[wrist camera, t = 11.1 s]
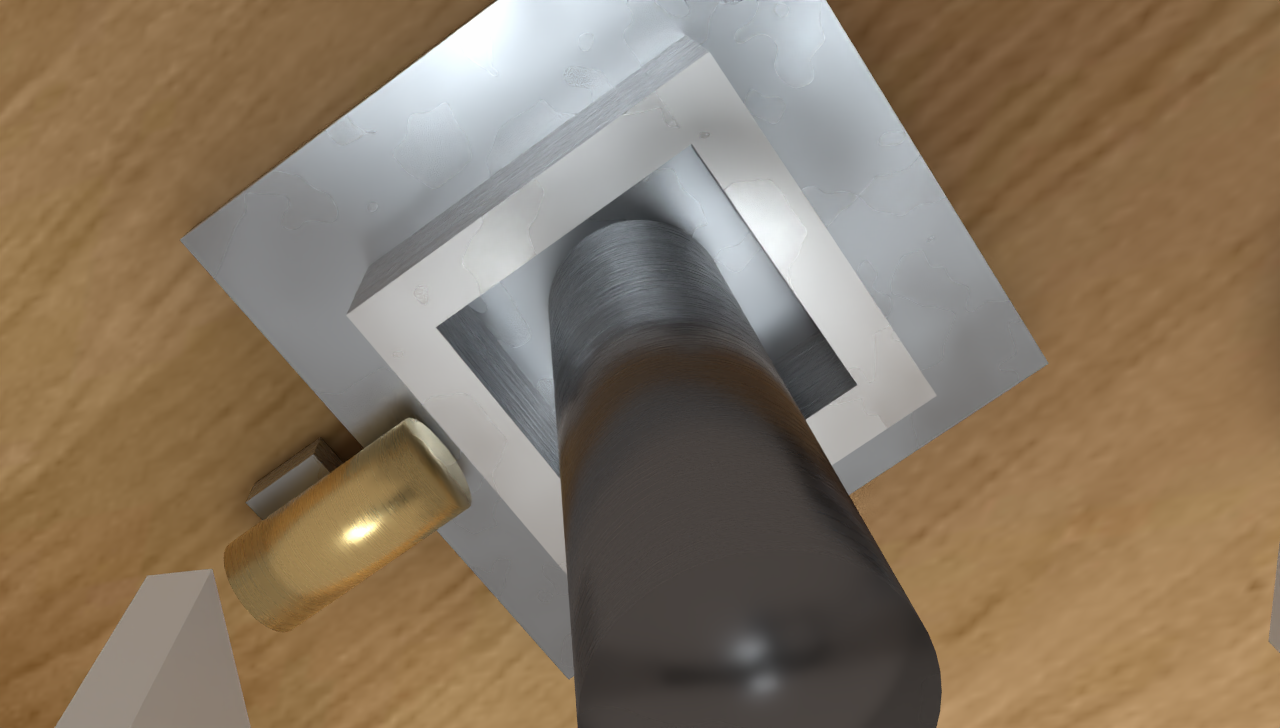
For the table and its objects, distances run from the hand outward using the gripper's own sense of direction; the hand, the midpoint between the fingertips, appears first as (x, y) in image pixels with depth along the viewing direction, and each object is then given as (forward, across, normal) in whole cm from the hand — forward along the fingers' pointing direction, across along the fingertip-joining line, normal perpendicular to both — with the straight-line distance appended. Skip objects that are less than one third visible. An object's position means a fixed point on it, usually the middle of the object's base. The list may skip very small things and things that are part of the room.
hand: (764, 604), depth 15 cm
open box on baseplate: (+14, -2, -1) cm, 14 cm away
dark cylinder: (+13, -1, 0) cm, 13 cm away
